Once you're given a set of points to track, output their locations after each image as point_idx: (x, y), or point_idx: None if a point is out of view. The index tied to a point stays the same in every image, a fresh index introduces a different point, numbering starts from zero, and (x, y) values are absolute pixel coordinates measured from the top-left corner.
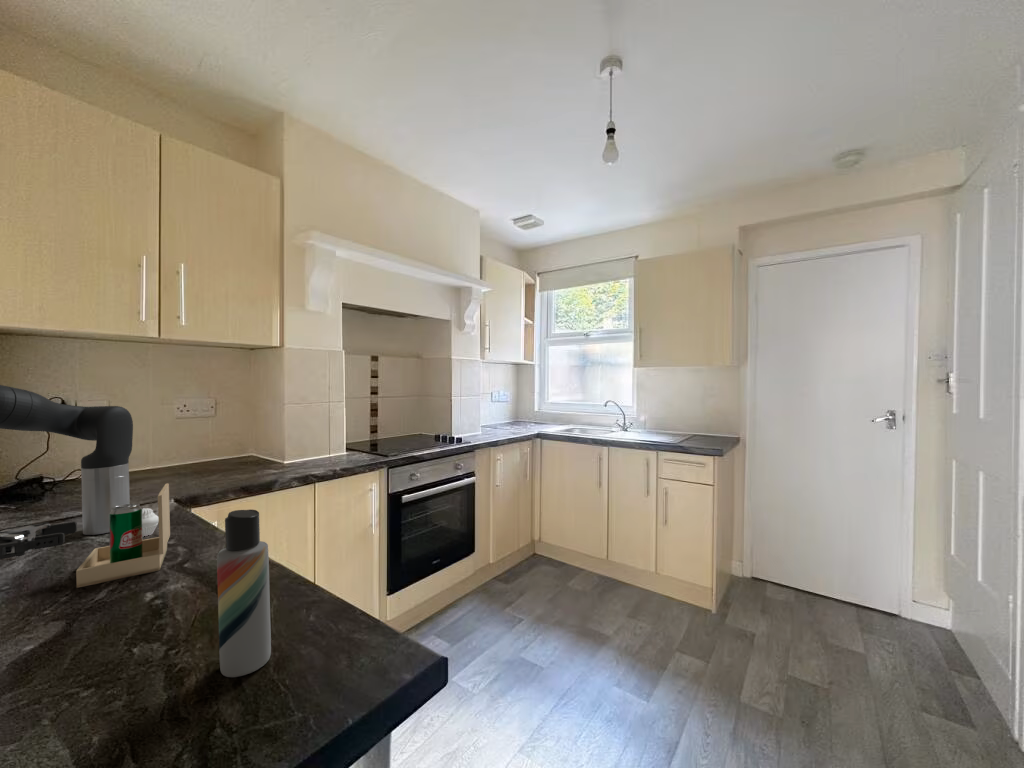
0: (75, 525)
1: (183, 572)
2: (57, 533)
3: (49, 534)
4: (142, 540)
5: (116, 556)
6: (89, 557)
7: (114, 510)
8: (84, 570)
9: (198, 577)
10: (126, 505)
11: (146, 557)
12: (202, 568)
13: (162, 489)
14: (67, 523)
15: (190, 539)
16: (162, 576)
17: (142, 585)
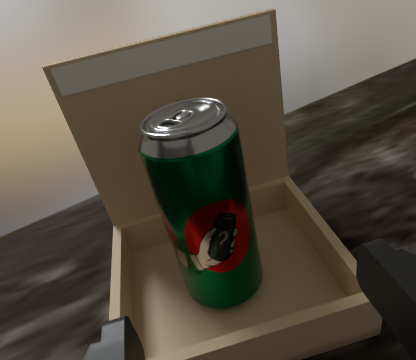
0: (131, 325)
1: (317, 170)
2: (381, 253)
3: (400, 280)
4: (117, 263)
5: (258, 258)
6: (236, 335)
7: (218, 124)
8: None
9: (351, 145)
10: (168, 118)
11: (299, 190)
12: (304, 155)
13: (165, 36)
14: (126, 344)
15: (72, 240)
16: (331, 190)
17: (379, 199)
